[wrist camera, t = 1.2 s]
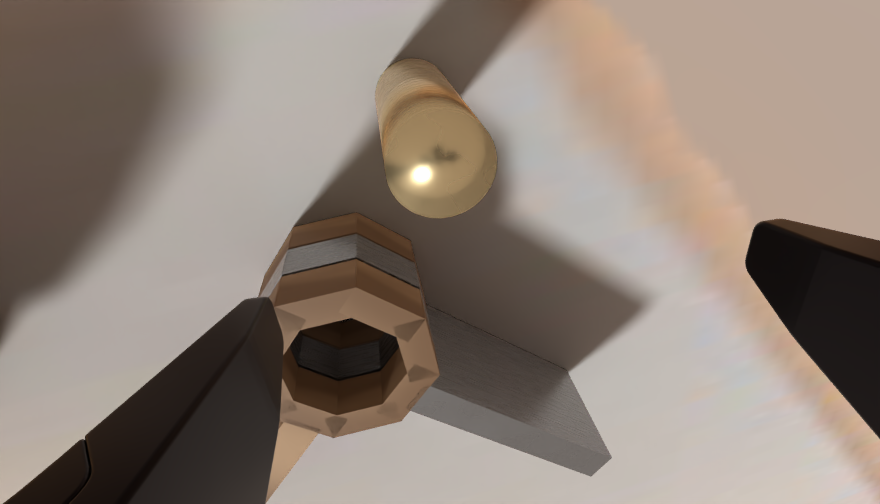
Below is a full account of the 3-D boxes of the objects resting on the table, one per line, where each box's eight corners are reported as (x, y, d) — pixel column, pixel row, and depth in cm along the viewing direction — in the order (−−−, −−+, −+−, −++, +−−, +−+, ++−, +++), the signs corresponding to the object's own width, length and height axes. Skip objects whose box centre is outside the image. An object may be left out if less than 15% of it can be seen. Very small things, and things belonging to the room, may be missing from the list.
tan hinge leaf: (314, 190, 21) (301, 262, 16) (446, 258, 24) (470, 338, 19) (164, 443, 27) (120, 554, 22) (283, 475, 30) (268, 581, 25)
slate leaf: (246, 306, 24) (215, 400, 19) (314, 190, 21) (301, 262, 16) (522, 416, 30) (555, 508, 25) (597, 337, 28) (651, 421, 23)
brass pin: (361, 109, 20) (363, 185, 13) (400, 42, 19) (426, 86, 12) (423, 147, 21) (455, 235, 14) (463, 86, 20) (519, 149, 13)
